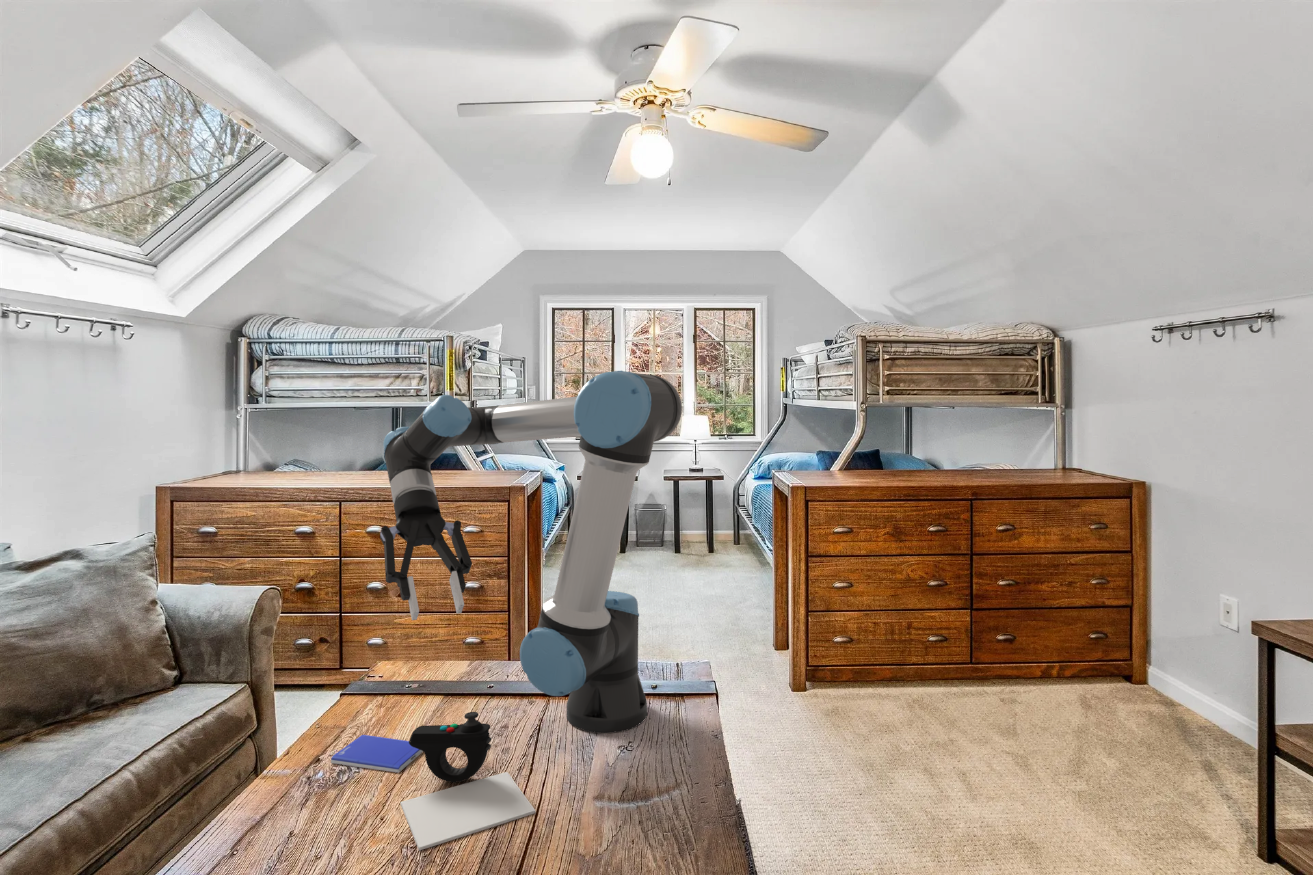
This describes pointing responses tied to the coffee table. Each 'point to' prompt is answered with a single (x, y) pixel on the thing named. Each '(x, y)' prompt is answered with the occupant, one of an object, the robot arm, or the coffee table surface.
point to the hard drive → (377, 753)
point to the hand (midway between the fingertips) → (438, 612)
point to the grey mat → (465, 809)
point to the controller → (463, 736)
